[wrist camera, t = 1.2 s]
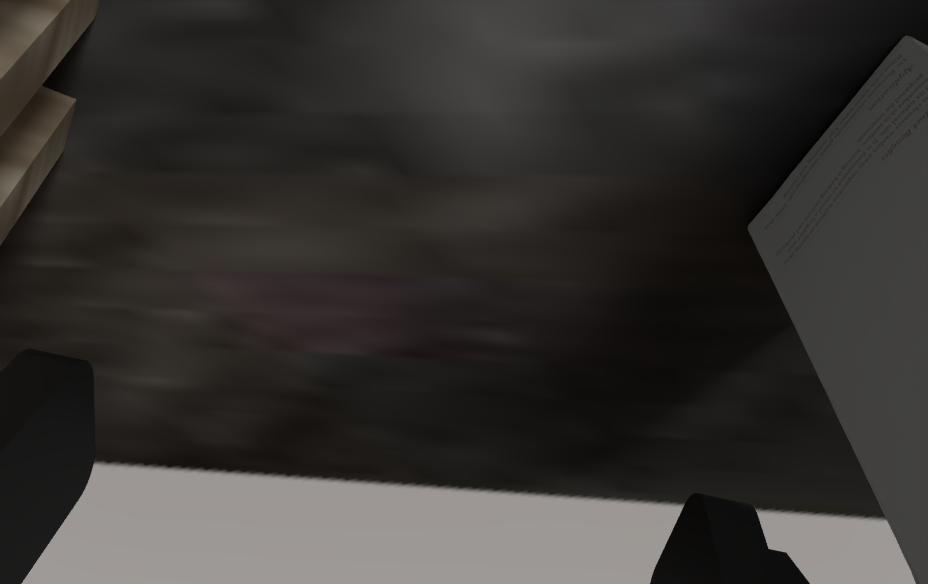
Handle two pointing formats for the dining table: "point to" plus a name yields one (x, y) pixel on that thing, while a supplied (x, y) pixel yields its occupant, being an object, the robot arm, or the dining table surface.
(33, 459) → the robot arm
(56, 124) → the domino
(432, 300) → the dining table surface
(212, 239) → the dining table surface
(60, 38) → the domino
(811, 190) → the skincare box
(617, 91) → the dining table surface
